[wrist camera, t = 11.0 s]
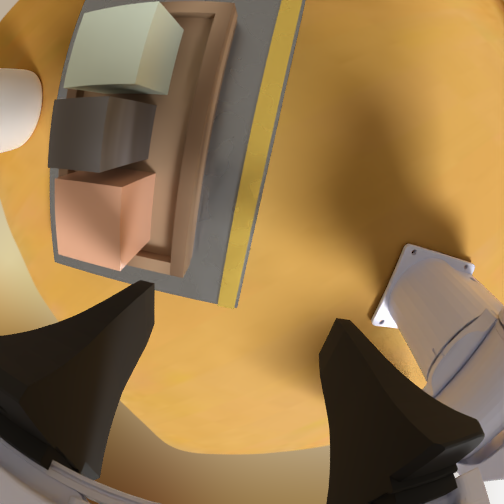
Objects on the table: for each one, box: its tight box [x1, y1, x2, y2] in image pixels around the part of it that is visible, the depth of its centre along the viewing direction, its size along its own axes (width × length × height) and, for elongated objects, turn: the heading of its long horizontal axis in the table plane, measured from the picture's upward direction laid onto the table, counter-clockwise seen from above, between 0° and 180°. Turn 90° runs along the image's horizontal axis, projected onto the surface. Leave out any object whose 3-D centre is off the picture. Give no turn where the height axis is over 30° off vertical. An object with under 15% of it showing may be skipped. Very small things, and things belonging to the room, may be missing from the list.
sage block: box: [63, 1, 184, 95], centre depth 9 cm, size 4×4×4 cm
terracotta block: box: [55, 168, 156, 271], centre depth 13 cm, size 4×4×4 cm
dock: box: [50, 0, 306, 309], centre depth 16 cm, size 16×22×3 cm
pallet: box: [48, 1, 238, 278], centre depth 12 cm, size 9×16×7 cm, turn 169°
